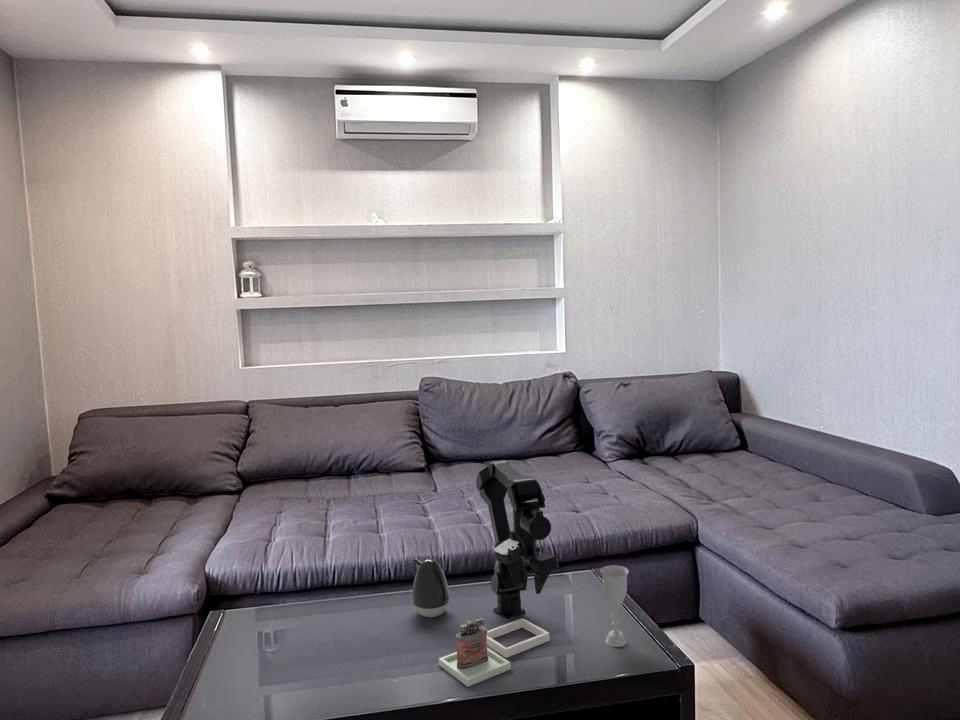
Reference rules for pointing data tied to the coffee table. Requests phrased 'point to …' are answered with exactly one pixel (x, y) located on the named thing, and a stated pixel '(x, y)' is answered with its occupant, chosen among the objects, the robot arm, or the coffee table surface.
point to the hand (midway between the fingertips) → (526, 587)
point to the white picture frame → (540, 638)
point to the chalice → (615, 598)
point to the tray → (475, 668)
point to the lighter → (471, 644)
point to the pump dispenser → (430, 589)
